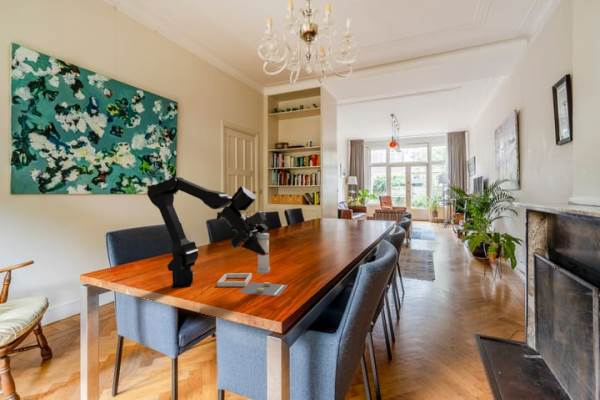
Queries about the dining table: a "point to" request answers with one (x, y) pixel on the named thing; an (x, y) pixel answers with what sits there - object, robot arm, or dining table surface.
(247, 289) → the panel
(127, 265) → the dining table surface
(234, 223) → the robot arm
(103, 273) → the dining table surface
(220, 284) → the parts tray
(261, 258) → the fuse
